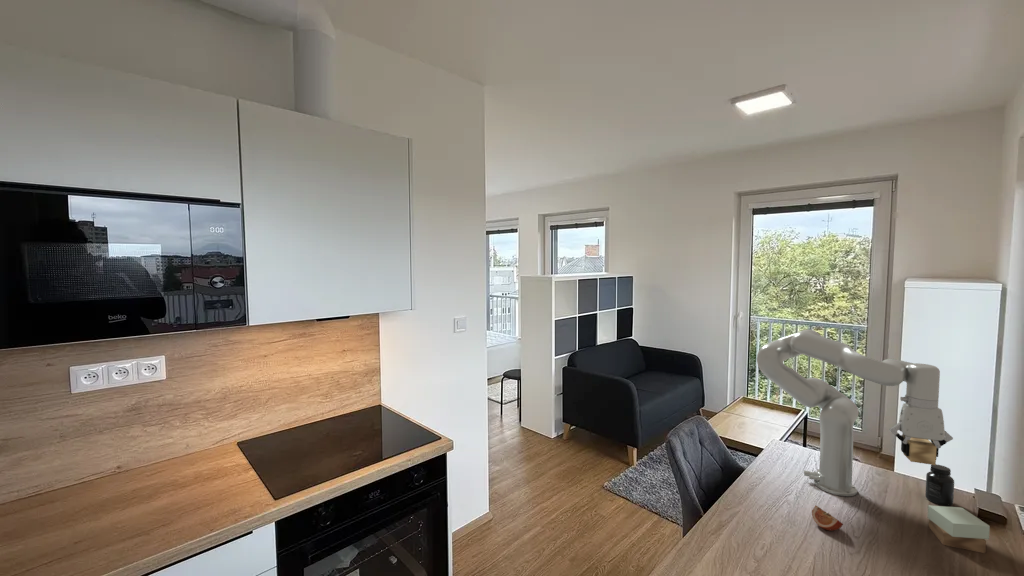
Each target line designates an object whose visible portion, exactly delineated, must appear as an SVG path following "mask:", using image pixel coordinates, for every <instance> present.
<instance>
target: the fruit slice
mask: <svg viewBox="0 0 1024 576" xmlns="http://www.w3.org/2000/svg"><path fill="white" fill-rule="evenodd" d="M811 515H812V519H813V520H814V522H815V524H816V525H818V527H820V528H821V529H823V530H825V531H831V532H833V531H837V530H839V529H840V528H842V527H843V525H844V524H843V522H841V521H840V520H838V519H837V518H836V517H835V516H833V515H831V514H830V513H829V512H827V511H825V510H823V509H822V507H820V506H817V505H815V506H814V507H813V509H812V510H811Z"/></svg>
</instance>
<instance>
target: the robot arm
mask: <svg viewBox="0 0 1024 576" xmlns="http://www.w3.org/2000/svg"><path fill="white" fill-rule="evenodd" d="M801 355H804V356H807V357H809V358H812V359H816V360H818V361H821V362H825V363H827V364H830V365H833V366H835V367H837V368H839V369H840V370H843V371H846V372H847V373H850V374H852V375H853V376H856V377H859V378H860V379H864V380H866V381H870V382H873V383H875V384H879V385H882V386H886V387H896V386H900V385H901V383H903V382H905V383H906V388H905V389H906V391H905V395H904V396H900V402H905V403H903V404H902V407H901V409H900V414H899V420H898V423H896V424H894V425H893V426H891V427H889V429H888V431H889V432H890V433H891V434H893V435H894V436H895V437H896V438H897V439H898V440H900V441H901V445H900V451H901V453H902V454H903V453H904V454H905V455H906V456H909V444H908V442H909V440H910V438H911V437H912V438H919V439H927V440H929V441H930V442H931V443H933V444H934V445H935V446H936V458H938V457H939V450H940V449H941V447H942V446H944V445H946V444H947V443H949V442H951V441H952V440H954V437H953V436H952V435H950V434H949V433H948V431H946V429H945V421H944V420H945V419H944V414H943V411H942V409H941V408H940V407H939V396H940V395H939V394H940V380H941V379H940V376H941V371H940V369H939V368H938V366H935V365H932V364H928V363H920V362H918V363H913V362H909V361H904V360H900V359H896V358H895V359H894V358H886V359H884V360H882V361H881V360H878V359H874V358H871V357H868V356H866V355H864V354H861V353H859V352H857V351H855V350H854V349H853V348H852V347H851V346H850V345H848V344H847V343H845V342H841V341H840V342H839V341H837V340H835V339H831V338H827V337H824V336H822V335H821V334H820V333H819V332H818V331H815V330H813V329H808V328H807V329H803V330H800V331H798V332H795V333H793V334H790V335H787V336H783V337H781V338H778V339H775V340H773V341H770V342H768V343H765V344H763V346H761V347H760V348H759V350H758V352H757V355H756V356H757V357H756V362H757V366H758V368H759V370H760V372H761V373H762V374H763V376H765V377H766V378H767V379H769V380H770V382H772V383H774V384H775V385H776V386H777V387H779V388H780V389H781V390H782V391H784V392H785V393H786V394H787V395H789V396H791V397H792V398H793V399H794V400H796V401H797V402H798V403H799V404H801V405H802V406H804V407H807V408H815V407H818V408H820V409H821V410H820V412H819V428H820V430H819V431H820V432H819V433H820V434H819V437H820V439H819V441H820V442H819V443H820V444H819V469H816V471H810V470H803V476H804V477H808V479H809V480H813V483H814V485H815V486H816V487H817V488H819V489H820V490H821V491H824V492H825V493H829V494H832V495H834V496H840V497H854V496H856V495H857V493H858V488H857V487H856V486H855V485H854V484H853V483H852V482H853V464H854V463H853V461H854V460H853V459H854V424H855V422H856V421H857V419H858V417H859V413H860V412H859V408H858V406H857V405H856V403H855V402H854V401H853V400H852V399H851V398H849V397H848V396H846V395H844V394H843V393H842V392H840V391H839V390H837V388H835V387H833V386H831V385H830V384H829V383H827V382H826V381H824V380H822V379H821V378H817V377H808V378H806V377H804V376H803V375H801V374H799V373H798V372H797V371H796V370H795V369H793V368H791V367H789V366H787V365H785V363H784V361H786V360H789V359H792V358H794V357H798V356H801ZM898 431H900V432H901V433H902V434H900V433H899V432H898ZM904 454H903V455H904ZM905 455H904V456H905ZM906 456H905V457H906Z"/></svg>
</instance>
